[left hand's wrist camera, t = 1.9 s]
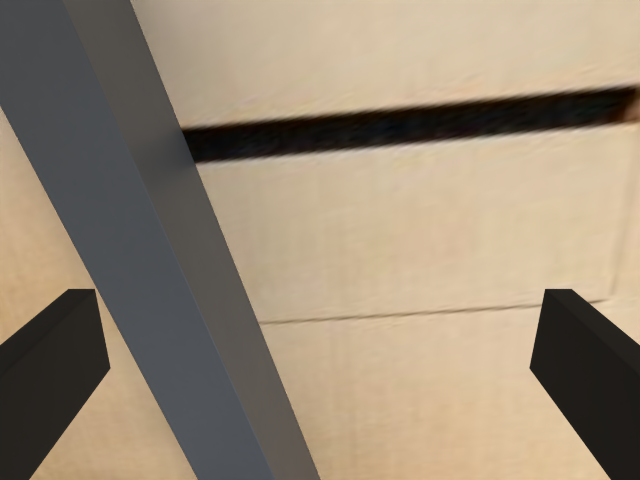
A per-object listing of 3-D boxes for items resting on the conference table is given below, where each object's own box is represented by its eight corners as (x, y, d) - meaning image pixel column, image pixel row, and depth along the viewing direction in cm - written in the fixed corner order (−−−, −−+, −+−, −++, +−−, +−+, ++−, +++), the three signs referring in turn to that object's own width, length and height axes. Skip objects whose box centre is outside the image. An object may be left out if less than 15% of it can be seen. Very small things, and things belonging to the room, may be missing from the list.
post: (24, -45, 26) (-110, -101, 18) (100, -74, 25) (-3, -145, 17) (286, 528, 42) (278, 632, 34) (336, 518, 42) (339, 621, 34)
